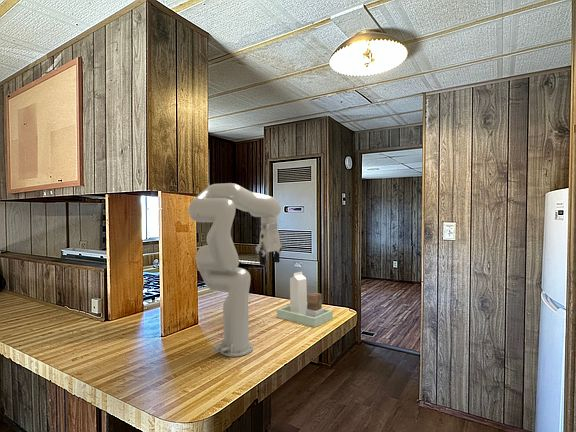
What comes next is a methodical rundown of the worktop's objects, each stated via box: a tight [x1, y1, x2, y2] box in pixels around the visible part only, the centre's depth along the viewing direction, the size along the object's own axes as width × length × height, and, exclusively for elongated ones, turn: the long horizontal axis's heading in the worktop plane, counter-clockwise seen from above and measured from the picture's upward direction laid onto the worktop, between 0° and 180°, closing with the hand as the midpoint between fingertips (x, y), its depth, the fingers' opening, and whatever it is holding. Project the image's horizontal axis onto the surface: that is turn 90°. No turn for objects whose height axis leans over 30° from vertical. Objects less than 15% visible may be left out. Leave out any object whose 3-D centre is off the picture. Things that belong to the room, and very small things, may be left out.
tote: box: [276, 304, 334, 328], centre depth 164 cm, size 15×23×4 cm, turn 50°
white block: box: [305, 307, 325, 317], centre depth 159 cm, size 7×6×6 cm
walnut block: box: [307, 292, 323, 311], centre depth 159 cm, size 5×5×7 cm
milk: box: [289, 271, 308, 315], centre depth 167 cm, size 6×6×22 cm
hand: (269, 263), depth 156 cm, fingers open, 9 cm apart
